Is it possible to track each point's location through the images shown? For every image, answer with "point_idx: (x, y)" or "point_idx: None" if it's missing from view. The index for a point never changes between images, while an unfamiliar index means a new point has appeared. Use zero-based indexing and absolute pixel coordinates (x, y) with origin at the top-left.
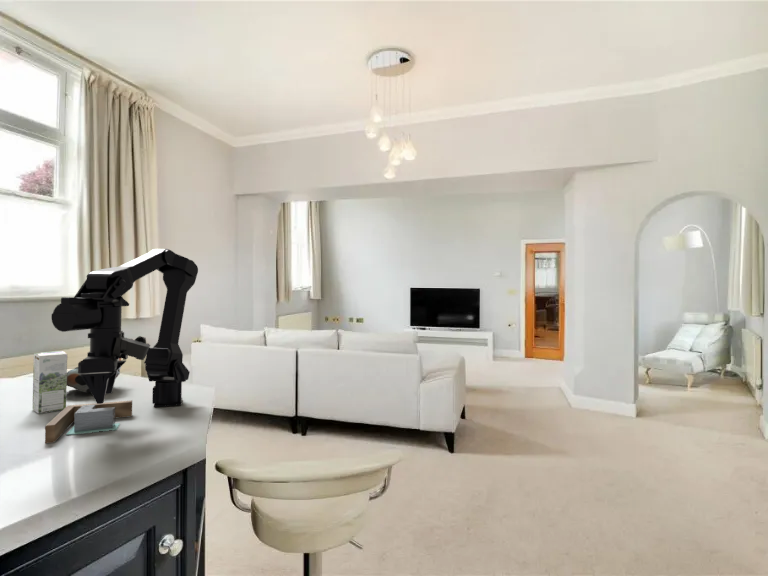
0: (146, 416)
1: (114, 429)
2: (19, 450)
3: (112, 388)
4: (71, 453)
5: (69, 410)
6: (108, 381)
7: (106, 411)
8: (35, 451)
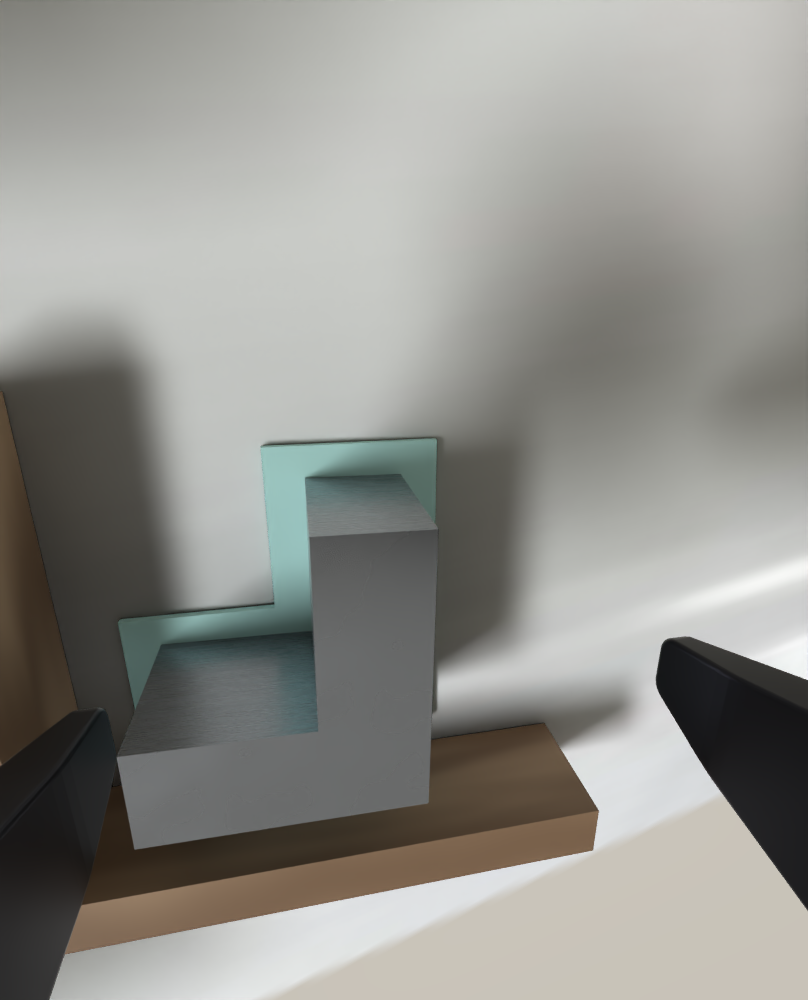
0: (29, 226)
1: (435, 453)
2: None
3: (76, 747)
4: (770, 579)
5: (197, 885)
6: (14, 941)
7: (435, 579)
8: (648, 746)
